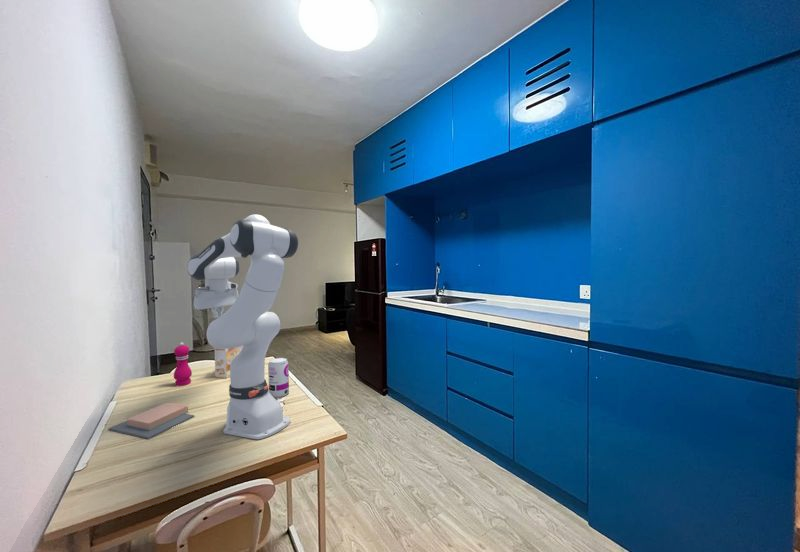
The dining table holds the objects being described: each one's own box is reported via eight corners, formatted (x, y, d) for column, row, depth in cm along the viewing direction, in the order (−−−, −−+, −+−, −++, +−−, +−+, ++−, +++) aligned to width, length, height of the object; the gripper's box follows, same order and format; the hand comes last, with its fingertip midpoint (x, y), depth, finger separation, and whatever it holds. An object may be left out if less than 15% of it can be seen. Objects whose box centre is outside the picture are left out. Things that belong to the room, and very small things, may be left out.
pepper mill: (195, 381, 157) (194, 340, 156) (184, 386, 150) (182, 344, 149) (182, 380, 158) (180, 340, 157) (170, 386, 150) (168, 344, 150)
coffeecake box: (227, 378, 160) (225, 339, 159) (214, 377, 161) (213, 339, 161) (247, 368, 175) (245, 333, 174) (235, 368, 176) (234, 332, 175)
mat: (156, 409, 126) (156, 408, 126) (194, 416, 120) (194, 415, 120) (108, 430, 111) (108, 428, 111) (149, 439, 104) (149, 437, 104)
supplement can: (291, 390, 144) (290, 357, 143) (285, 397, 135) (284, 362, 135) (273, 390, 143) (272, 357, 143) (266, 398, 135) (265, 363, 135)
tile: (167, 402, 125) (127, 418, 112) (187, 405, 122) (149, 423, 109) (167, 408, 125) (127, 425, 112) (188, 412, 122) (149, 430, 109)
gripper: (200, 287, 131) (201, 321, 131) (240, 284, 150) (241, 314, 150) (189, 287, 133) (190, 320, 133) (230, 284, 152) (231, 313, 152)
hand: (218, 317), depth 142 cm, fingers closed
